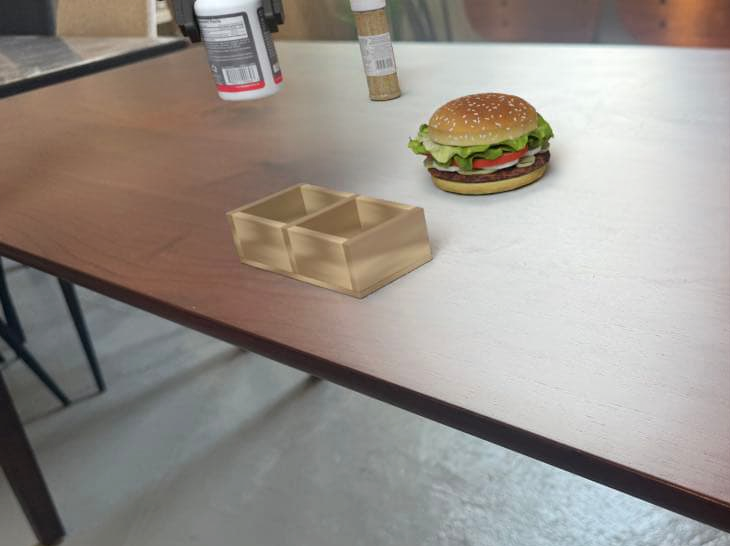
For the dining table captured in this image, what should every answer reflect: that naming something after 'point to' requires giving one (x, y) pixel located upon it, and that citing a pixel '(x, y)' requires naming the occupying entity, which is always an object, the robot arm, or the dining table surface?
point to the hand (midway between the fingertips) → (233, 30)
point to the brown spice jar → (376, 48)
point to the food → (484, 144)
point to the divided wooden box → (331, 238)
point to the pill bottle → (239, 48)
